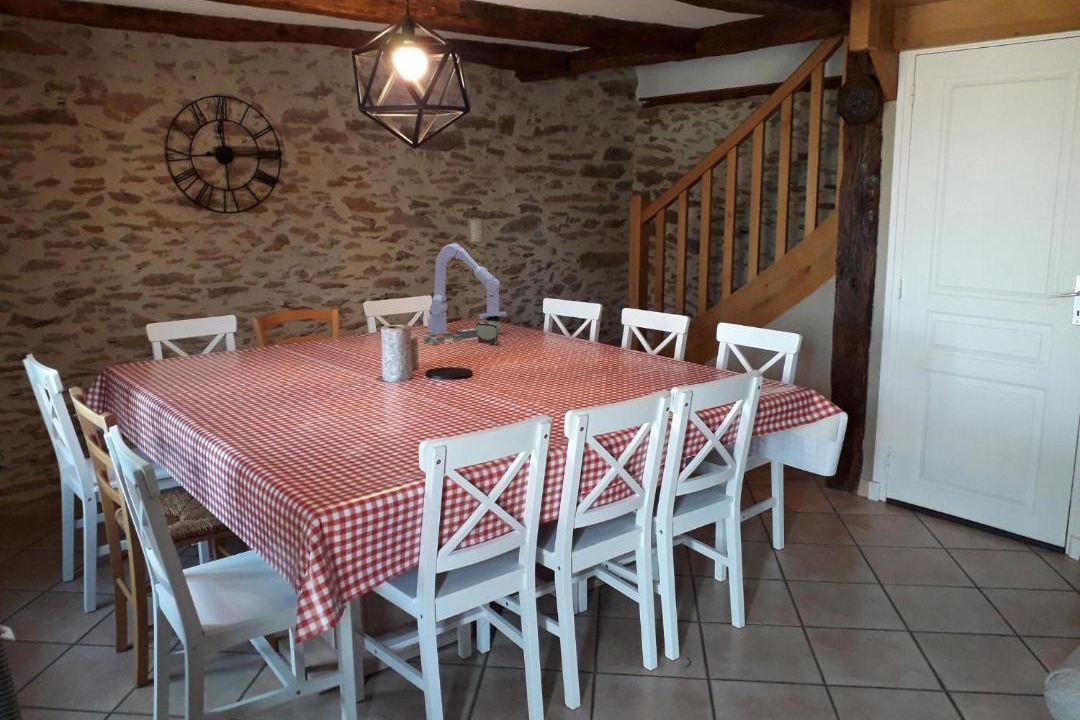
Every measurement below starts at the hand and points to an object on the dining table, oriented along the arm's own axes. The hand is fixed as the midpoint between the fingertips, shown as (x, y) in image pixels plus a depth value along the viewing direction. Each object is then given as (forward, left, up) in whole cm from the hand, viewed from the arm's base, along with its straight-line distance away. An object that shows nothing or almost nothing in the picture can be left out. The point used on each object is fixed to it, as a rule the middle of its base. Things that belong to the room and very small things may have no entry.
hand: (492, 332), depth 400 cm
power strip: (0, -12, -1) cm, 12 cm away
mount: (0, -20, -2) cm, 20 cm away
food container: (+16, -13, -2) cm, 21 cm away
